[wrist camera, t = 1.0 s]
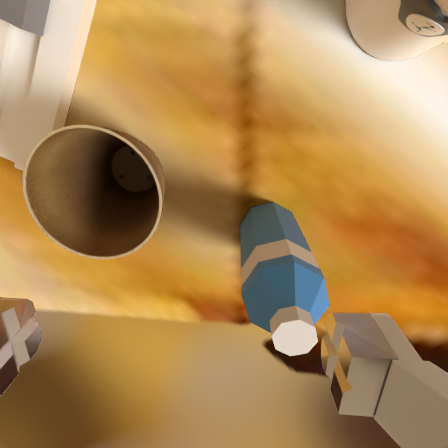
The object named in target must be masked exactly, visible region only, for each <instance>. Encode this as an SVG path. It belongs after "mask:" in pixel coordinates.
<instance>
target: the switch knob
mask: <svg viewBox="0 0 448 448" xmlns="http://www.w3.org/2000/svg"><path fill="white" fill-rule="evenodd" d="M49 5H50V0H0V19H2V20H4V21H6V22H8V23H10V24H12V25H14V26H16V27H18V28H20V29H22V30H25V31H28V32H31V33H34V34H37V35H40V36H43V33H44V28H45V24H46V19H47V14H48V9H49Z"/></svg>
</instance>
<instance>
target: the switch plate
mask: <svg viewBox="0 0 448 448" xmlns="http://www.w3.org/2000/svg"><path fill="white" fill-rule="evenodd" d="M96 2H97V0H50V5H49V9H48V14H47V19H46V24H45V28H44V33H43V36H40V35H37V34H34V33H31V32H28V31H25V30H22V29H20V28H18V27H16V26H14V25H12V24H10V23H8V22H6V21H4V20H2V19H0V156H1V157H4V158H6V159H8V160H10V161H13V162H15V164H14V167H15V168H17V169H19V170H22V171H23V170H24V165H25V162H26V159H27V157H28V155H29V153H30V151H31V150H32V148H33V147H34V146H35V144H36V143H37V142H38V141H39V140H40V139H41V138H42V137H44V136H45V135H46V134H48V133H50V132H51V131H54V130H56V129H58V128H61V127H64V125H65V122H66V118H67V114H68V110H69V106H70V102H71V98H72V95H73V91H74V87H75V83H76V79H77V75H78V72H79V68H80V64H81V60H82V56H83V52H84V48H85V45H86V41H87V37H88V33H89V29H90V25H91V21H92V18H93V14H94V10H95V6H96Z"/></svg>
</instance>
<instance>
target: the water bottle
mask: <svg viewBox="0 0 448 448" xmlns="http://www.w3.org/2000/svg"><path fill="white" fill-rule="evenodd" d="M240 241H241V285H242V298H243V301H244V304H245V307H246V310H247V314H248V317H249V320H250V322H251V323H253V324H255V325H257V326H259V327H261V328H263V329H265V330H266V331H268V332H270V333H271V335H272V339H273V342H274V346H275V349H276V350H278V351H280V352H283V353H285V354H287V355H289V356H294V355H299V354H305V353H308V352H309V351H310V350H311V349H312V348H313V346H314V345H315V344H316V343H317V342H318V339H317V334H316V330H315V326H314V324H315V323H316V322H317V321H318V319H319V318H320V317H321V316H322V314H323V313H324V312H325V311H326V309H327V308H328V307H329V306H330V305H329V300H328V295H327V290H326V285H325V280H324V276H323V274H322V272H321V270H320V268H319V266H318V264H317V262H316V260H315V258H314V256H313V254H312V252H311V250H310V248H309V246H308V244H307V242H306V240H305V238H304V236H303V234H302V232H301V230H300V228H299V226H298V224H297V222H296V220H295V218H294V215H293V213H292V212H290V211H289V210H287V209H285V208H283V207H281V206H279V205H278V204H276V203H274V202H271V203H267V204H263V205H259V206H256V207H252V208H251V209H250V210H249V212H248V214H247V215H246V217H245V219H244V220H243V222H242V223H241V225H240Z"/></svg>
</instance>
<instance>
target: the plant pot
mask: <svg viewBox="0 0 448 448" xmlns="http://www.w3.org/2000/svg"><path fill="white" fill-rule="evenodd" d="M132 151H133V154H132ZM149 175H151V176H152V177H149ZM123 176H124V177H125V178H122V177H123ZM22 186H23V193H24V198H25V202H26V205H27V207H28V210H29V212H30V214H31V216H32V218H33V219H34V221H35V222H36V224H37V225H38V226H39V228H40V229H41V230H42V231H43V232H44V233H45V234H46V235H47V236H48V237H49V238H50V239H51V240H52V241H54V242H55V243H56V244H58V245H59V246H61V247H62V248H64V249H66V250H68V251H70V252H72V253H74V254H77V255H80V256H83V257H87V258H93V259H114V258H119V257H123V256H126V255H129V254H131V253H133V252H134V251H136V250H138V249H139V248H141V247H142V246H143V245H144V244H145V243H146V242H147V241H148V240H149V239H150V238H151V236H152V235H153V234H154V232H155V230H156V228H157V226H158V223H159V221H160V217H161V213H162V208H163V203H164V196H165V180H164V173H163V169H162V166H161V164H160V162H159V159H158V158H157V156H156V155H155V153H154V152H153V151H152V150H151V149H150V148H149V147H148V146H147V145H145V144H144V143H143V142H141V141H140V140H138V139H136V138H134V137H132V136H130V135H128V134H126V133H123V132H120V131H116V130H112V129H108V128H103V127H98V126H92V125H70V126H65V127H61V128H58V129H56V130H54V131H51V132H50V133H48V134H46V135H45V136H44V137H42V138H41V139H40V140H39V141H38V142H37V143H36V144H35V146H34V147H33V148H32V150H31V151H30V153H29V155H28V157H27V159H26V162H25V165H24V170H23V177H22Z"/></svg>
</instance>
